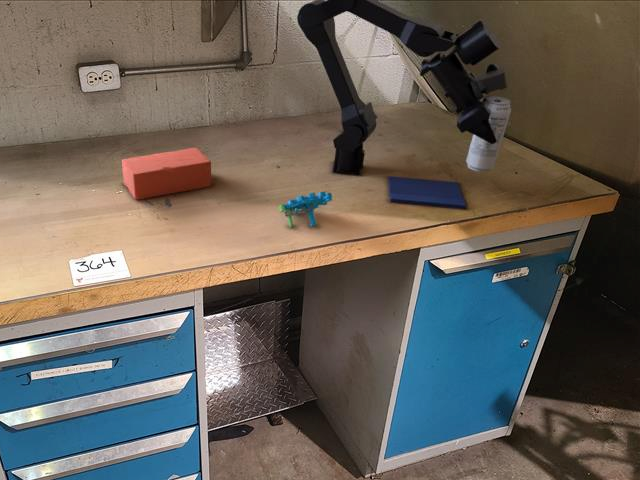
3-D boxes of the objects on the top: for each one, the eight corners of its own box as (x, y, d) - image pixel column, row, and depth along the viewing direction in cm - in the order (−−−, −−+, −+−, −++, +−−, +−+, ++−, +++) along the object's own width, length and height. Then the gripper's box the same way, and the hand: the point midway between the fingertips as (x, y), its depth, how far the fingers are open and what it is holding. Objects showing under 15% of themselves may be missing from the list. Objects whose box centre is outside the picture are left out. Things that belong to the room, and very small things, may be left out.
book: (390, 202, 132) (390, 198, 132) (388, 177, 143) (389, 174, 142) (465, 209, 130) (466, 205, 130) (457, 183, 141) (458, 180, 140)
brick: (196, 171, 143) (196, 147, 140) (211, 186, 137) (211, 161, 133) (123, 183, 137) (121, 158, 133) (135, 200, 130) (133, 174, 127)
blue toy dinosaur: (326, 200, 128) (335, 185, 118) (332, 227, 127) (342, 213, 118) (275, 210, 127) (281, 195, 117) (281, 237, 127) (287, 224, 117)
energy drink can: (495, 166, 134) (516, 99, 126) (489, 175, 130) (510, 106, 121) (468, 159, 137) (486, 93, 128) (461, 168, 133) (480, 100, 124)
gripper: (491, 65, 113) (534, 130, 117) (489, 42, 128) (528, 101, 132) (438, 101, 120) (481, 162, 124) (443, 76, 134) (481, 131, 138)
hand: (494, 137), depth 129 cm, fingers closed on energy drink can, 6 cm apart
